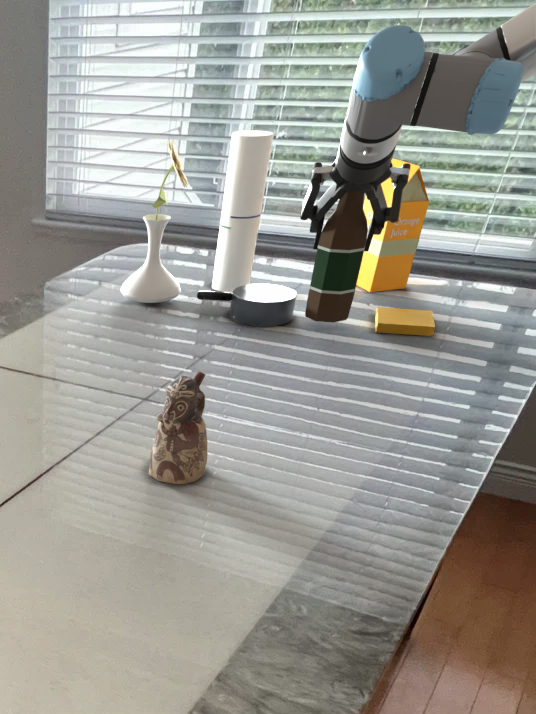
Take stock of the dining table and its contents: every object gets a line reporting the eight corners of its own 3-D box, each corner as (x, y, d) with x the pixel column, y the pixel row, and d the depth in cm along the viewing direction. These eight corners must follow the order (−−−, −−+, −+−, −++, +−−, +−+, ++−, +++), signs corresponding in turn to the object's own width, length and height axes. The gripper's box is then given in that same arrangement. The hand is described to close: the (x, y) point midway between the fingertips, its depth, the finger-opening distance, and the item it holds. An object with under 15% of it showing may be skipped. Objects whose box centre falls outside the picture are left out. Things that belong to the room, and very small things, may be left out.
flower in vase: (165, 311, 155) (181, 149, 138) (109, 303, 159) (118, 145, 143) (192, 292, 163) (210, 137, 146) (138, 285, 167) (150, 134, 151)
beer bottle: (358, 314, 144) (398, 147, 128) (336, 326, 140) (374, 154, 124) (317, 306, 148) (350, 143, 132) (294, 317, 144) (326, 150, 128)
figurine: (136, 467, 108) (145, 372, 100) (180, 454, 111) (192, 360, 103) (171, 489, 104) (183, 391, 95) (216, 475, 106) (231, 378, 98)
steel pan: (293, 309, 153) (298, 285, 151) (290, 328, 146) (294, 303, 143) (198, 303, 158) (201, 280, 155) (190, 322, 150) (193, 297, 147)
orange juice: (381, 276, 167) (411, 156, 154) (406, 288, 161) (440, 164, 147) (345, 279, 166) (372, 159, 153) (369, 292, 160) (400, 168, 146)
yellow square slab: (429, 319, 147) (432, 310, 146) (432, 336, 141) (435, 326, 140) (375, 316, 149) (377, 307, 148) (375, 332, 143) (377, 323, 142)
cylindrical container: (242, 294, 161) (266, 137, 144) (206, 289, 164) (226, 135, 147) (253, 284, 166) (278, 131, 149) (218, 280, 168) (239, 129, 152)
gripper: (289, 165, 120) (275, 261, 142) (441, 168, 115) (402, 267, 137) (298, 115, 120) (283, 218, 142) (451, 115, 115) (410, 222, 137)
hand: (341, 242), depth 140 cm, fingers closed on beer bottle, 7 cm apart
